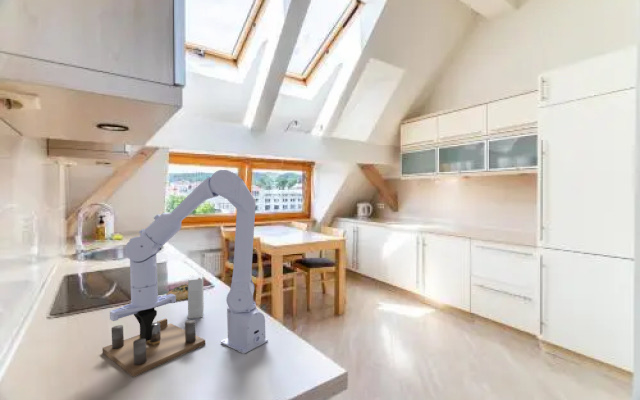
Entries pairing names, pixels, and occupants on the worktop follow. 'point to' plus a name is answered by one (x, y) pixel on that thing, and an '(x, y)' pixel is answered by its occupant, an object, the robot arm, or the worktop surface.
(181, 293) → the bread roll
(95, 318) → the worktop surface
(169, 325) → the seat board
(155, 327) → the bar
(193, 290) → the skincare box
